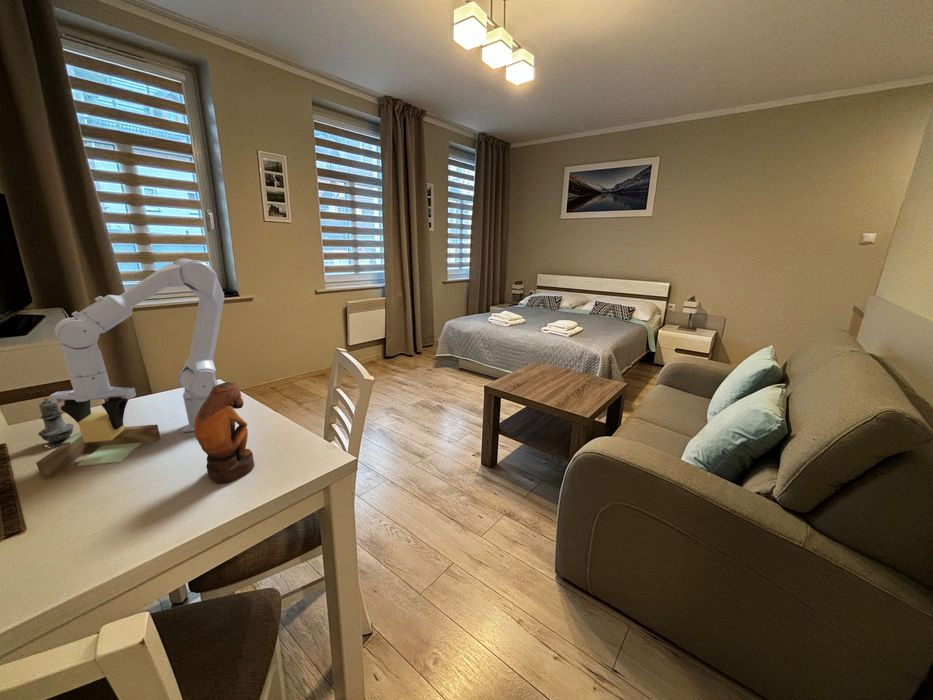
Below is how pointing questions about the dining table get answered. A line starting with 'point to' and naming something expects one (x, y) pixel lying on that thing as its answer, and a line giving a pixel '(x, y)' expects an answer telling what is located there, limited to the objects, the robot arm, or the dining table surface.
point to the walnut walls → (77, 447)
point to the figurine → (223, 434)
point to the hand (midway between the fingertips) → (103, 428)
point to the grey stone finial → (54, 425)
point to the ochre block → (98, 427)
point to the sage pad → (110, 454)
